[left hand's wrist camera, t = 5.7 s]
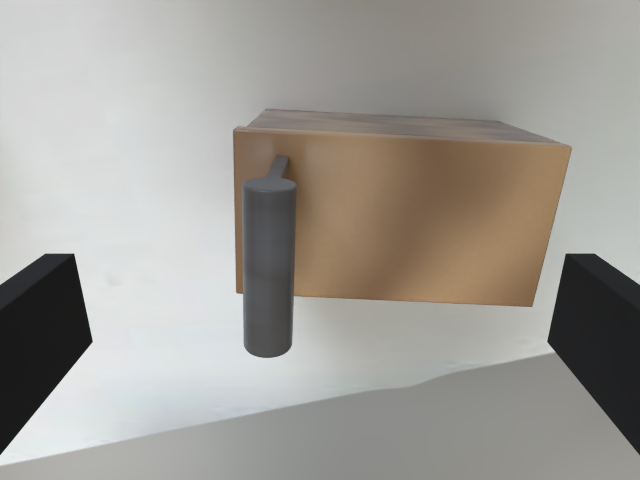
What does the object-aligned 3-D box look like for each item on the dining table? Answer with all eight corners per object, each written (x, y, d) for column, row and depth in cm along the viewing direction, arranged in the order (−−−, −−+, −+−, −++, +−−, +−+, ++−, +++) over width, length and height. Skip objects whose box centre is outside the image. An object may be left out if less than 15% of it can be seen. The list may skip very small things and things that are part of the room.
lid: (239, 284, 28) (205, 376, 20) (236, 126, 24) (194, 158, 16) (524, 297, 28) (606, 393, 20) (562, 142, 24) (679, 182, 16)
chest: (264, 231, 36) (247, 284, 28) (265, 109, 33) (245, 126, 24) (476, 241, 37) (524, 297, 28) (498, 121, 33) (561, 142, 24)
